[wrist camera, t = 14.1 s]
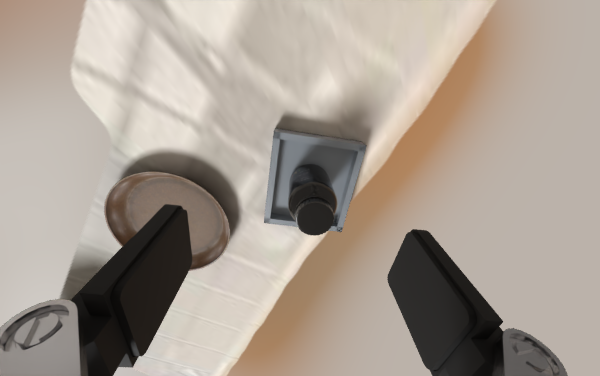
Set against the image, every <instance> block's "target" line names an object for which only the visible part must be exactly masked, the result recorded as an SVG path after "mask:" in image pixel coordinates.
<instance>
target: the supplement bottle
mask: <svg viewBox="0 0 600 376" xmlns="http://www.w3.org/2000/svg"><path fill="white" fill-rule="evenodd" d="M288 209H289V212H290V214H291V216H292V217H293V218H294V220H296V224H297V227H299V229H300V230H301V231H302V232H304V233H306V234H308V235H320V234H323V233H326V231H328V230H329V229H330V228H331V226H332V225H333V223H334V214H335V212H336V210H337V197H336V194H335V192H334V189H333V186H332V184H331V181H330V179H329V176H328V174H327V172H326V171H325V170H324V169H323V168H322V167H320V166H318V165H315V164H305V165H302V166H300V167H298V168H297V169H295V170H294V172H293V173H292V175H291V177H290V181H289V194H288Z"/></svg>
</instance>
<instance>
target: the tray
mask: <svg viewBox="0 0 600 376" xmlns="http://www.w3.org/2000/svg"><path fill="white" fill-rule="evenodd" d="M365 149H366V145H365V144H364V143H363V142H360V141H354V140H348V139H341V138H335V137H328V136H322V135H316V134H309V133H303V132H297V131H290V130H284V129H277V128H275V130H274V135H273V145H272V154H271V163H270V172H269V181H268V190H267V199H266V208H265V217H264V223H269V224H278V225H286V226H295V227H297V224H296V220H294V218H293V217H292V216H291V214H290V212H289V209H288V194H289V181H290V177H291V175H292V173H293V172H294V170H295V169H297V168H298V167H300V166H302V165H305V164H315V165H318V166H320V167H322V168H323V169H324V170H325V171H326V172H327V174H328V176H329V179H330V181H331V184H332V186H333V189H334V192H335V194H336V197H337V210H336V212H335V214H334V223H333V225H332V226H331V228H330V229H329V231H338V232H342V228H343V225H344V222H345V218H346V215H347V211H348V208H349V204H350V201H351V197H352V194H353V191H354V187H355V184H356V180H357V177H358V173H359V170H360V167H361V163H362V160H363V156H364V153H365Z"/></svg>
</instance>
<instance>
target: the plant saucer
mask: <svg viewBox="0 0 600 376" xmlns="http://www.w3.org/2000/svg"><path fill="white" fill-rule="evenodd" d="M165 204H171V205H181V206H182V207H183V209H184V210H187V214H188V223H189V232H190V240H191V249H192V265H191V267H190V269H189V271H192V270H197V269H201V268H204V267H206V266H208V265H210V264H212V263H214V262H215V261H217V260H218V259H219V258H220V257H221V256H222V255H223V253H224V252H225V250H226V248H227V246H228V243H229V239H230V227H229V222H228V219H227V217H226V214H225V212H224V210H223V208H222V207H221V205H220V204H219V203H218V201H217V200H216V199H215V198H214V197H213V196H212V195H211V194H210V193H209V192H208V191H207V190H205V189H204V188H203V187H201V186H200V185H198V184H196V183H195V182H193V181H191V180H189V179H186V178H184V177H181V176H178V175H174V174H170V173H163V172H142V173H137V174H133V175H130V176H127V177H125V178H123V179H122V180H120V181H119V182H117V183H116V184H115V185H114V186H113V187H112V189H111V190H110V192H109V193H108V195H107V198H106V201H105V206H104V213H105V219H106V223H107V225H108V228H109V230H110V232H111V233H112V235H113V236H114V238H115V239H116V240H117V242H118V243H119V244H120V245H121V246H122V247H123V246H124V245H125V244H126V243H127V242H128V241H129V240H130V239H131V238H132V237H133V236H135V235H136V234H137V232H138V231H139V230H140V229H141V228H142V227H143V226H144V225H145V224H146V223H147V222H148V221H149V220H150V219H151V218H152V217H153V216H154V215H155V214H156V213H157V212H158V211H159V210H160V209H161V208H162V207H163V206H164V205H165Z"/></svg>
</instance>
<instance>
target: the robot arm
mask: <svg viewBox="0 0 600 376" xmlns="http://www.w3.org/2000/svg"><path fill="white" fill-rule="evenodd" d="M191 265H192V249H191V240H190V232H189V223H188V214H187V210H184V209H183V207H182V206H181V205H171V204H165V205H164V206H163V207H162V208H161V209H160V210H159V211H158V212H157V213H156V214H155V215H154V216H153V217H152V218H151V219H150V220H149V221H148V222H147V223H146V224H145V225H144V226H143V227H142V228H141V229H140V230H139V231H138V232H137V234H136V235H135V236H133V237H132V238H131V239H130V240H129V241H128V242H127V243H126V244H125V245H124V246H123V247H122V248H121V249H120V250H119V251H118V252H117V253H116V254H115V255H114V256H113V257H112V258H111V259H110V260H109V261H108V262H107V263H106V264H105V265H104V266H103V267H102V268H101V269H100V271H99V272H98V273H97V274H96V275H95V276H94V277H93V278H92V279H91V280H90V281H89V282H88V283H87V284H86V285H85V286H84V287H83V288H82V289H81V290H80V291H79V292H78V293H77V294H76V295H75V296H74V297H73V298H72V299H71V300H65V299H57V300H50V301H46V302H43V303H39V304H37V305H34V306H32V307H30V308H28V309H26V310H24V311H22V312H20V313H19V314H17V315H15V316H14V317H12V318H11V319H10V320H9V321H7V322H6V323H5V324H4V325H2V326H1V327H0V376H113V375H114V373H115V371H116V369H117V368H118V367H133V366H134V364H135V362H136V360H137V358H138V357H139V356H143V355H144V354H145V353H146V351H147V349H148V347H149V346H150V344H151V342H152V340H153V338H154V336H155V334H156V332H157V330H158V328H159V327H160V325H161V323H162V321H163V319H164V317H165V315H166V313H167V311H168V309H169V307H170V306H171V304H172V302H173V300H174V298H175V296H176V294H177V292H178V290H179V288H180V287H181V285H182V283H183V281H184V279H185V277H186V275H187V273H188V271H189V269H190V267H191ZM388 283H389V286H390V288H391V290H392V292H393V295H394V297H395V299H396V302H397V304H398V306H399V308H400V310H401V313H402V315H403V318H404V320H405V322H406V324H407V327H408V329H409V331H410V333H411V336H412V338H413V340H414V342H415V345H416V347H417V349H418V352H419V354H420V356H421V358H422V361H423V363H424V365H425V366H426V368H428V369H429V370H430V371H431V374H432V376H568V375H567V372H566V370H565V368H564V366H563V364H562V363H561V362H560V360H559V359H558V358H557V356H556V355H555V354H554V353H553V352H552V351H551V350H550V349H549V348H548V347H546V346H545V345H544V344H543V343H542V342H540V341H539V340H537V339H536V338H534V337H533V336H531V335H530V334H527V333H525V332H523V331H521V330H517V329H514V328H512V329H506V330H505V331H502V329H501V328H500V327H499V326H500V325H501V324H502V323H503V321H502V319H501V318H500V317H499V316H498V315H497V313H496V312H495V311H494V310H493V309H492V307H491V306H490V305H489V304H488V303H487V301H486V300H485V299H484V298H483V297H482V295H481V294H480V293H479V292H478V291H477V289H476V288H475V287H474V286H473V284H472V283H471V282H470V281H469V280H468V279H467V277H466V276H465V275H464V274H463V272H462V271H461V270H460V269H459V268H458V266H457V265H456V264H455V263H454V262H453V260H452V259H451V258H450V257H449V256H448V254H447V253H446V252H445V251H444V250H443V248H442V247H441V246H440V245H439V243H438V242H437V241H436V240H435V239H434V237H433V236H432V235H431V234H430V233H429V232H428V231H425V230H414V229H413V230H412V231H411V232H409V233H407V234H406V236H405V239H404V241H403V243H402V245H401V247H400V250H399V252H398V255H397V256H396V258H395V261H394V263H393V265H392V267H391V269H390V271H389V274H388Z"/></svg>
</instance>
